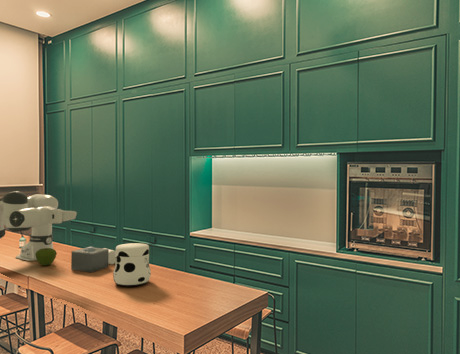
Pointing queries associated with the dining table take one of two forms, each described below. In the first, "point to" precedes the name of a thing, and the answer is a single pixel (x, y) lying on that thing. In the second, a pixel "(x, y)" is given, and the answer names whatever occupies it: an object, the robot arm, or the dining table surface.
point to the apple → (46, 256)
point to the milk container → (132, 264)
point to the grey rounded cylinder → (90, 249)
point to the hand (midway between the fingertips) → (68, 213)
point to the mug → (111, 256)
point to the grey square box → (89, 259)
